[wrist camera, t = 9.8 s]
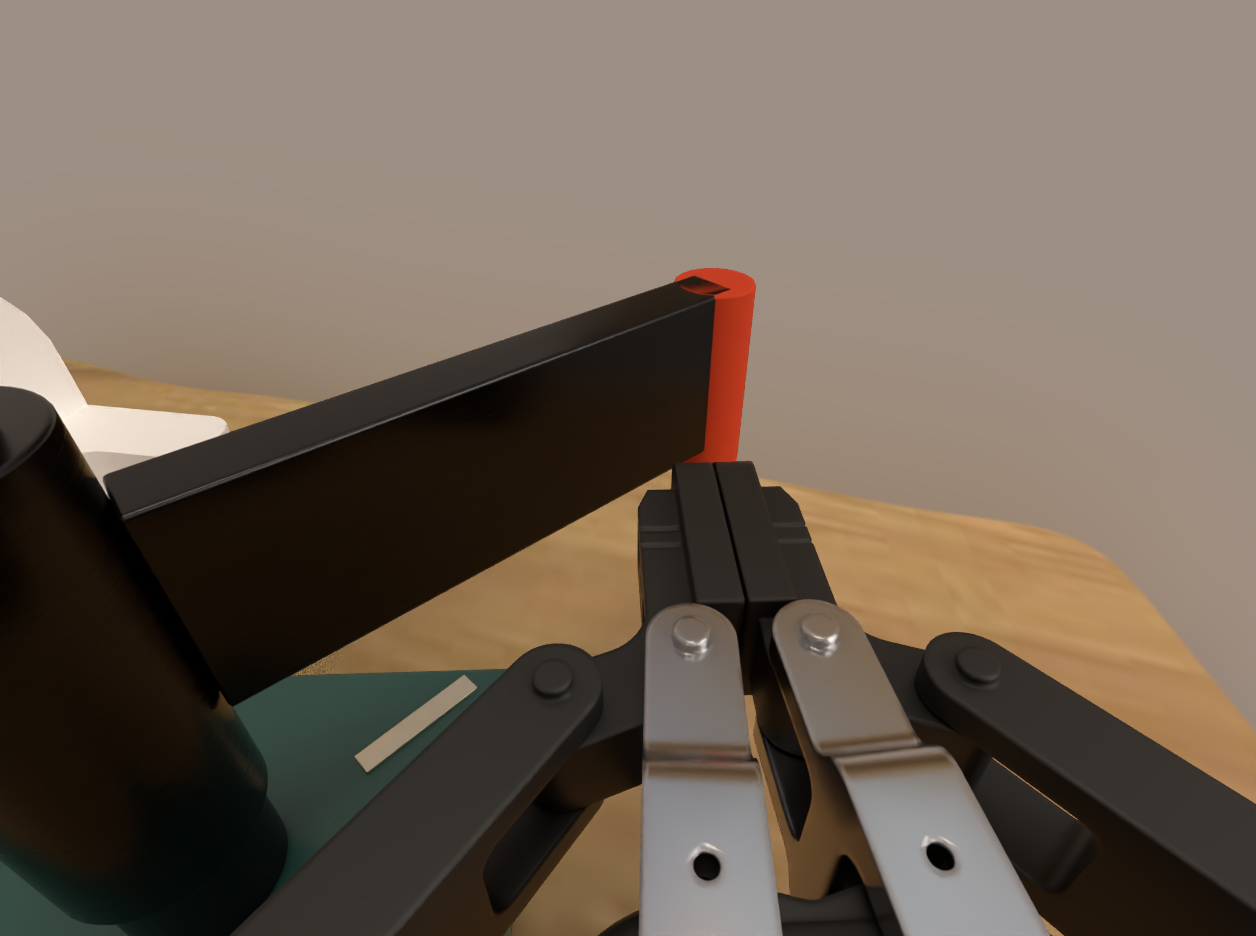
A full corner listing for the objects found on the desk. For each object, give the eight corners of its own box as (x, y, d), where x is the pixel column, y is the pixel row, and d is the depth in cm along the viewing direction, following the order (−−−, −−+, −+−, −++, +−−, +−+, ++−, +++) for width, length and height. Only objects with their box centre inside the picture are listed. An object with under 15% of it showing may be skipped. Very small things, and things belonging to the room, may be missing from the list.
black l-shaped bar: (65, 980, 11) (-618, 503, 5) (40, 809, 13) (-449, 341, 7) (766, 516, 20) (820, 158, 14) (680, 462, 22) (697, 135, 16)
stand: (-208, 1272, 12) (-495, 1237, 9) (124, 743, 20) (34, 631, 17) (482, 1239, 12) (432, 1192, 9) (530, 730, 20) (512, 617, 17)
